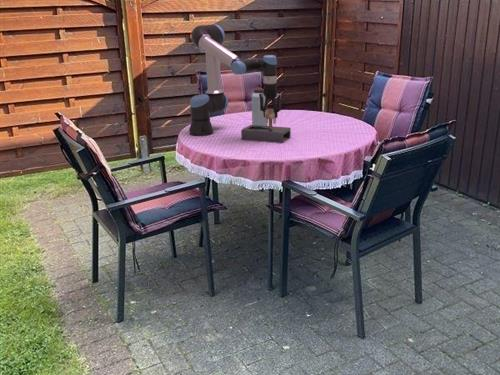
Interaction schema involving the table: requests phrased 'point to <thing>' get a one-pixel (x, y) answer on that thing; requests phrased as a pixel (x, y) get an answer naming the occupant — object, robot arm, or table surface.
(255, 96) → the water bottle
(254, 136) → the keyhole plate
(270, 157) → the table surface
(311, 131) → the table surface
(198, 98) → the robot arm
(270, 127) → the peg
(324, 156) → the table surface
